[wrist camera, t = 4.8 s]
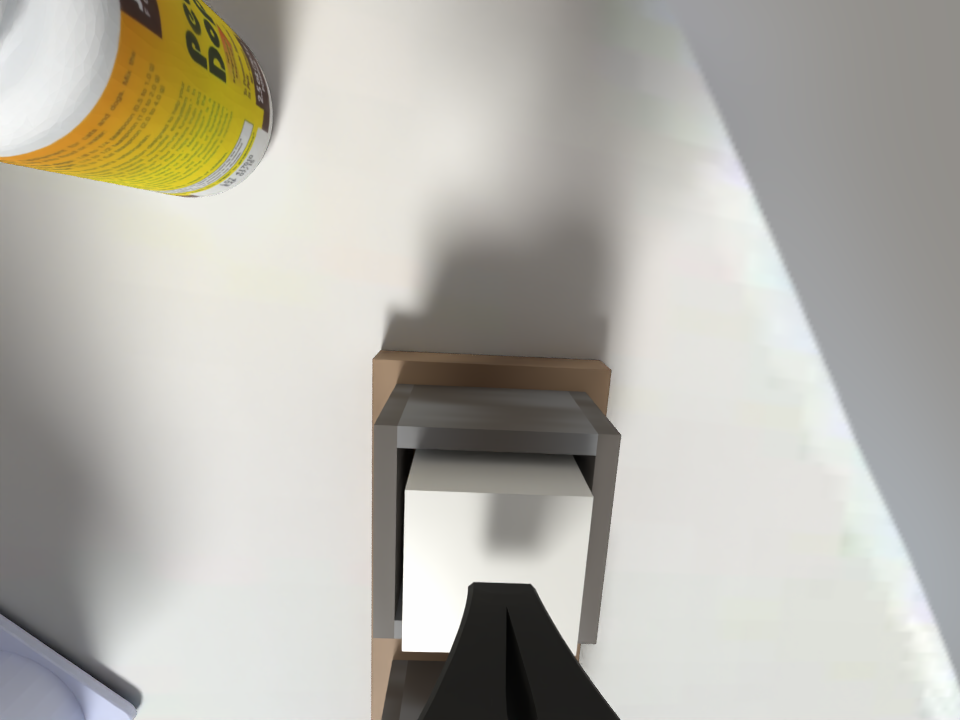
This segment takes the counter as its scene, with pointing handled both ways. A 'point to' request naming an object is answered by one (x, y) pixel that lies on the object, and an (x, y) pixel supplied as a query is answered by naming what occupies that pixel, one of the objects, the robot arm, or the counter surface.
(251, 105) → the supplement bottle
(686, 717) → the counter surface
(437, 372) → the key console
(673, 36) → the counter surface
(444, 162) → the counter surface
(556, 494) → the white key
